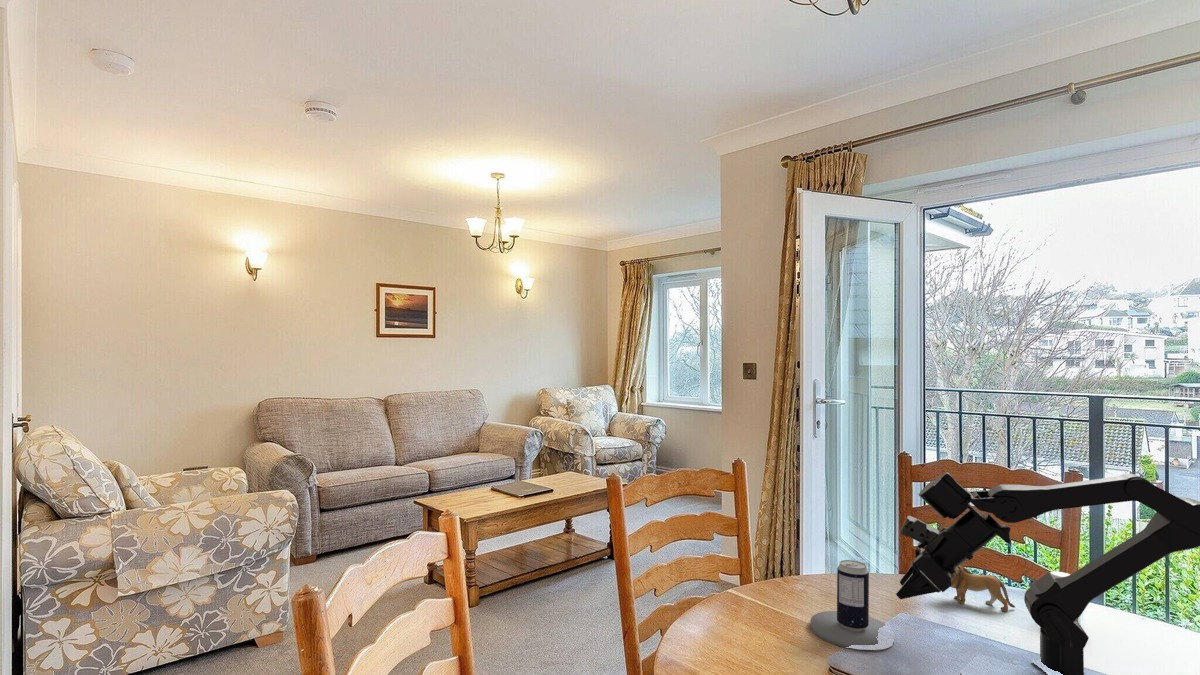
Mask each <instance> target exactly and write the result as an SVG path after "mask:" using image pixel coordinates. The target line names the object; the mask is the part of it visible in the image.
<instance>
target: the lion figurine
mask: <svg viewBox="0 0 1200 675" xmlns="http://www.w3.org/2000/svg"><path fill="white" fill-rule="evenodd" d="M949 588H953V589H955V590H956V595H955V596H954V597H953V599H954V598H957V599H960V600H957V603H958V602H959V603H961V604H960V605H964V604H965V603H966V594H967V591H972V592H983V591H986V590H988V592H989V595H990V600H986V601H985V604H986V605H993V604H994V603H995V602H996V601H997V600H998V602H1000V603H1001V604H1002V605H1003V606H1001V607H1000V611H1002V612H1004V613H1005V612H1008V610H1009V607H1010V608H1013V609H1014V608H1016V606H1015V605H1014V604H1013V603H1011V601H1010V598H1009V594H1008V592H1007V588H1006V585H1005V584H1004V583H1003V581H1001V579H999V578H997V577H996V576H994V575H991V574H987V575H986V574H974V573H972V572H970V570H968V569H967V567H965V566H962V564H961V565H959V566H958V567H957V568H956V571H955V572H954V573H953V574H952V575H951V586H950V587H949ZM1001 589H1002V590H1001ZM1001 591H1003V594H1004V596H1003V594H1002V592H1001ZM959 603H958V604H959ZM962 603H963V604H962Z"/></svg>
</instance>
